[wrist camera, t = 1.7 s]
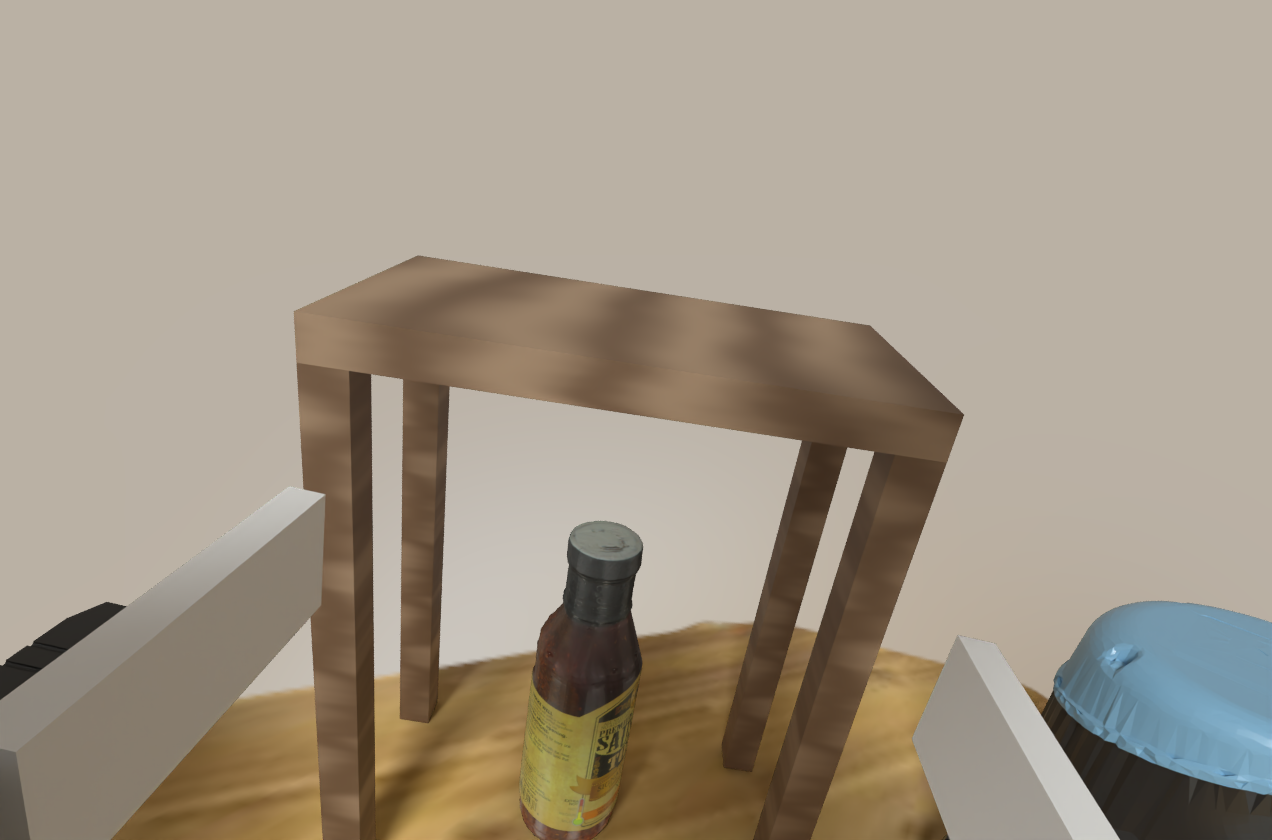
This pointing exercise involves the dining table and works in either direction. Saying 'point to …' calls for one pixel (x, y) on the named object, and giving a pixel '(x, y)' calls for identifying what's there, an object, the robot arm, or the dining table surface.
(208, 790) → the dining table surface
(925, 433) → the walnut table
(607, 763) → the sauce bottle
